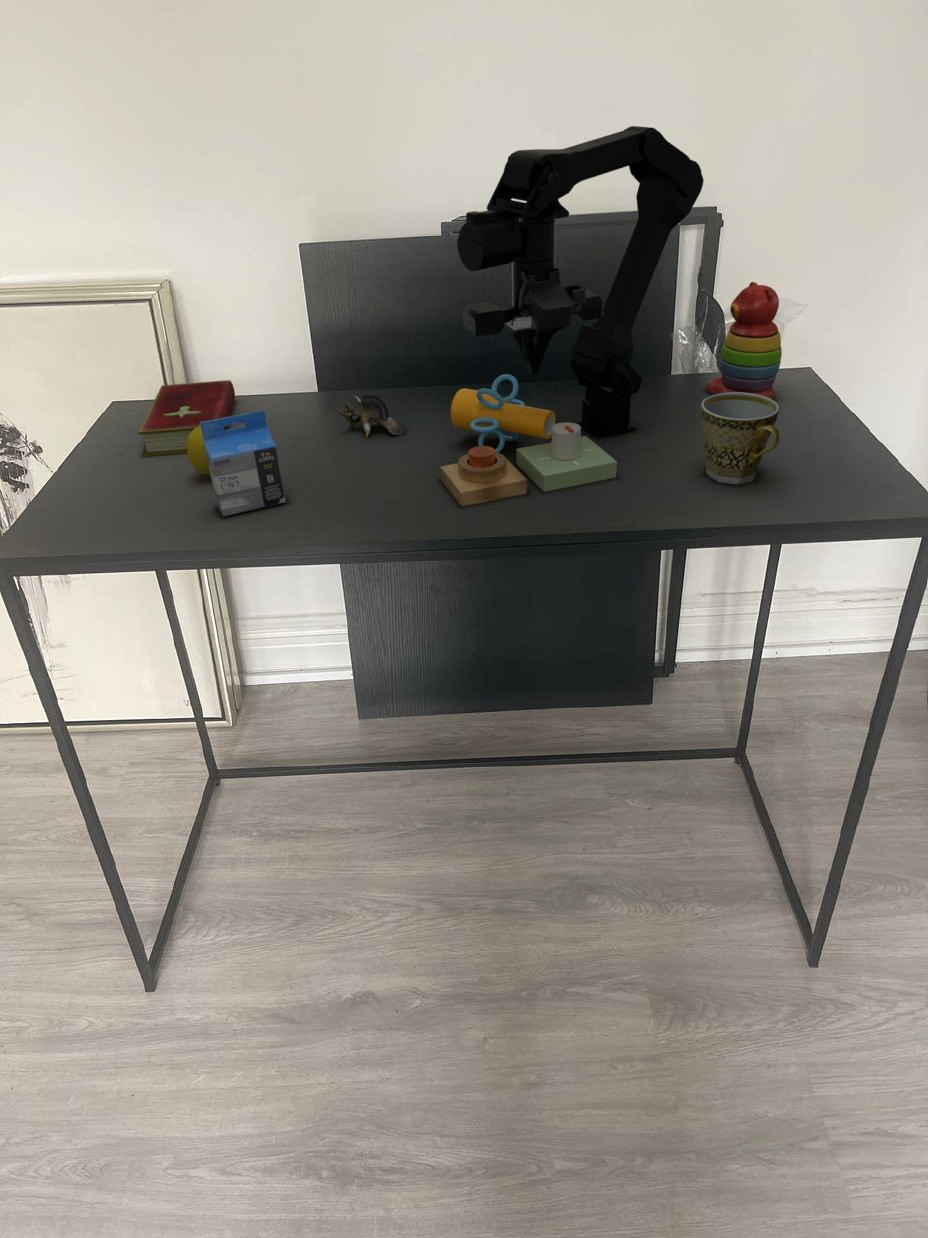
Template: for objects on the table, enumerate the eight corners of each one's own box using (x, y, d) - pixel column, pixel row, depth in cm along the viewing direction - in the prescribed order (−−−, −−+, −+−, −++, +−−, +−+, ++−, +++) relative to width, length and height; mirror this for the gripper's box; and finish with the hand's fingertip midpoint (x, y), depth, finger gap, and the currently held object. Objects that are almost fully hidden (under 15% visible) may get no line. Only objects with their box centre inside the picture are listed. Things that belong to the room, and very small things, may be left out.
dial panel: (585, 451, 135) (585, 434, 133) (616, 477, 127) (617, 460, 125) (516, 464, 132) (516, 447, 130) (543, 492, 124) (543, 474, 123)
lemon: (198, 487, 130) (186, 435, 126) (189, 473, 134) (177, 422, 130) (236, 478, 132) (225, 426, 128) (226, 465, 136) (215, 414, 132)
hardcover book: (236, 401, 159) (232, 378, 156) (223, 449, 141) (217, 423, 139) (167, 407, 158) (161, 383, 156) (144, 455, 141) (138, 430, 138)
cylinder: (440, 455, 136) (529, 475, 129) (436, 388, 130) (529, 405, 123) (481, 426, 144) (566, 442, 138) (479, 361, 138) (568, 376, 132)
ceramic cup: (680, 468, 129) (686, 400, 123) (738, 453, 132) (747, 386, 126) (737, 505, 119) (747, 433, 113) (799, 488, 122) (811, 417, 116)
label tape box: (222, 518, 122) (203, 431, 115) (216, 506, 125) (198, 421, 118) (286, 503, 125) (272, 418, 118) (279, 492, 128) (264, 408, 121)
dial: (547, 451, 129) (547, 422, 127) (572, 446, 130) (573, 418, 128) (558, 462, 126) (558, 433, 124) (584, 457, 127) (585, 428, 124)
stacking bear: (702, 387, 154) (714, 279, 144) (760, 382, 155) (776, 274, 145) (724, 410, 145) (738, 296, 135) (786, 405, 146) (804, 291, 136)
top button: (489, 455, 126) (489, 443, 125) (499, 465, 123) (499, 453, 122) (465, 460, 125) (465, 448, 124) (474, 470, 122) (473, 458, 121)
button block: (503, 468, 131) (502, 442, 129) (527, 494, 124) (527, 467, 122) (440, 480, 129) (439, 454, 126) (461, 507, 122) (460, 479, 119)
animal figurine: (336, 435, 141) (389, 428, 138) (334, 389, 141) (387, 381, 138) (358, 444, 148) (409, 437, 145) (356, 400, 148) (407, 393, 145)
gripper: (488, 279, 111) (491, 402, 120) (625, 261, 116) (619, 380, 125) (459, 261, 120) (464, 376, 129) (587, 244, 125) (584, 357, 133)
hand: (533, 373), depth 129 cm, fingers closed
